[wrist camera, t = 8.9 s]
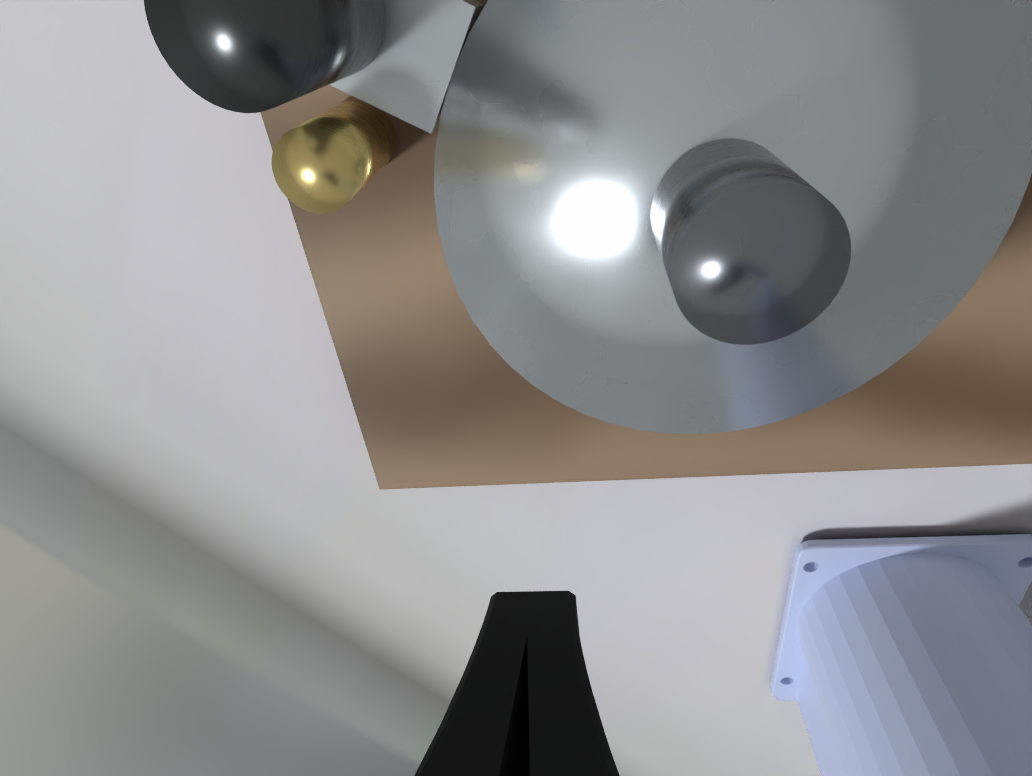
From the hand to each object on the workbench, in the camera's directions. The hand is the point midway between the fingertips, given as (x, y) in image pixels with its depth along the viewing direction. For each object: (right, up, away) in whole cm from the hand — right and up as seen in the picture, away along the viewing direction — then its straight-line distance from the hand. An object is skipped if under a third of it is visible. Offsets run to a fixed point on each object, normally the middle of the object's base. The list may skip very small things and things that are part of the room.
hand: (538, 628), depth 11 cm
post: (+4, +8, +2) cm, 9 cm away
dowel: (-4, +10, +4) cm, 11 cm away
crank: (+2, +10, +3) cm, 10 cm away
